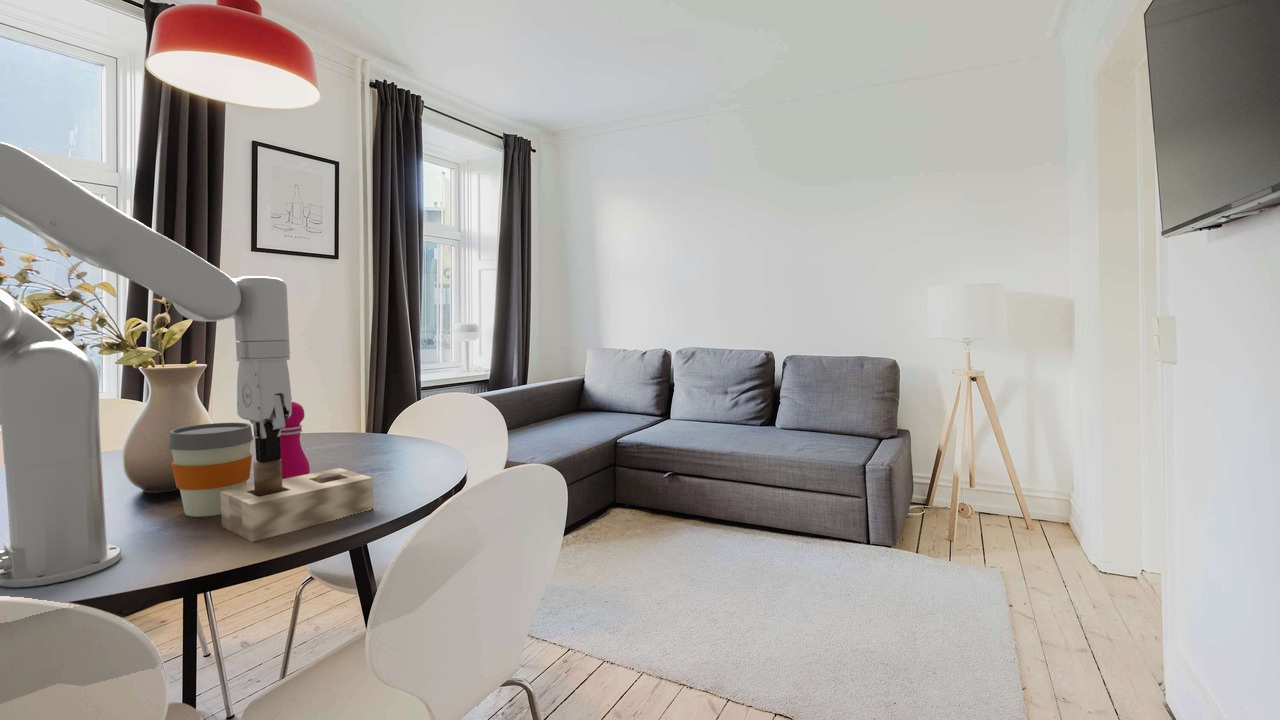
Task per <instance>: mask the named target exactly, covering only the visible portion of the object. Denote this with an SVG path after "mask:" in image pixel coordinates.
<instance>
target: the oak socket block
mask: <svg viewBox="0 0 1280 720" xmlns="http://www.w3.org/2000/svg"><path fill="white" fill-rule="evenodd" d="M329 473H338V474H341V479H340V480H335V481H330V482H326V483H319V482H316V477H317V476H319V475H322V474H329ZM373 481H374V479H373V476H368V475H365V474H361V473H359V472H355V471H350V470H348V469H345V468H342V467H338V468H332V469H328V470H321V471H317V472H313V473H309V474H306V475H301V476H296V477H291V478H286V479H282V489H283V492H279V493H274V494H270V495H265V496H260V497H258V496H255V491H254V484H253V485H252V484H251V485H246V486H245V487H240V488H235V489H230V490H225V491H220V493H221V514H220V515H221V527H223V528H225V530H226V529H227V530H228V531H229V532H232V533H233V534H235V535H238V536H239V537H242V538H243V539H245V540H248V542H251V543H254V542H259V541H261V540H265V539H269V538H273V537H276V536H277V537H278V536H280V535H284V534H287V533H288V534H289V533H292V532H296V531H300V530H304V529H306V528H311V527H313V526H318V525H322V524H325V523H329V521H330V522H333V521H337V520H340V518H341V519H344V518H343V517H345V518H347V517H346V516H348V517H350V516H349V515H352V516H354V515H353V514H356V513H359V512H362V511H365V510H369V509H372V508H373V509H374V482H373ZM356 515H357V514H356ZM336 519H337V520H336Z"/></svg>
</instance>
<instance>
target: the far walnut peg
mask: <svg viewBox="0 0 1280 720" xmlns="http://www.w3.org/2000/svg"><path fill="white" fill-rule="evenodd" d="M340 479H341V474H338V473H329V474H322V475H319V476H317V477H316V482H319V483H326V482H330V481H335V480H340Z"/></svg>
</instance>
